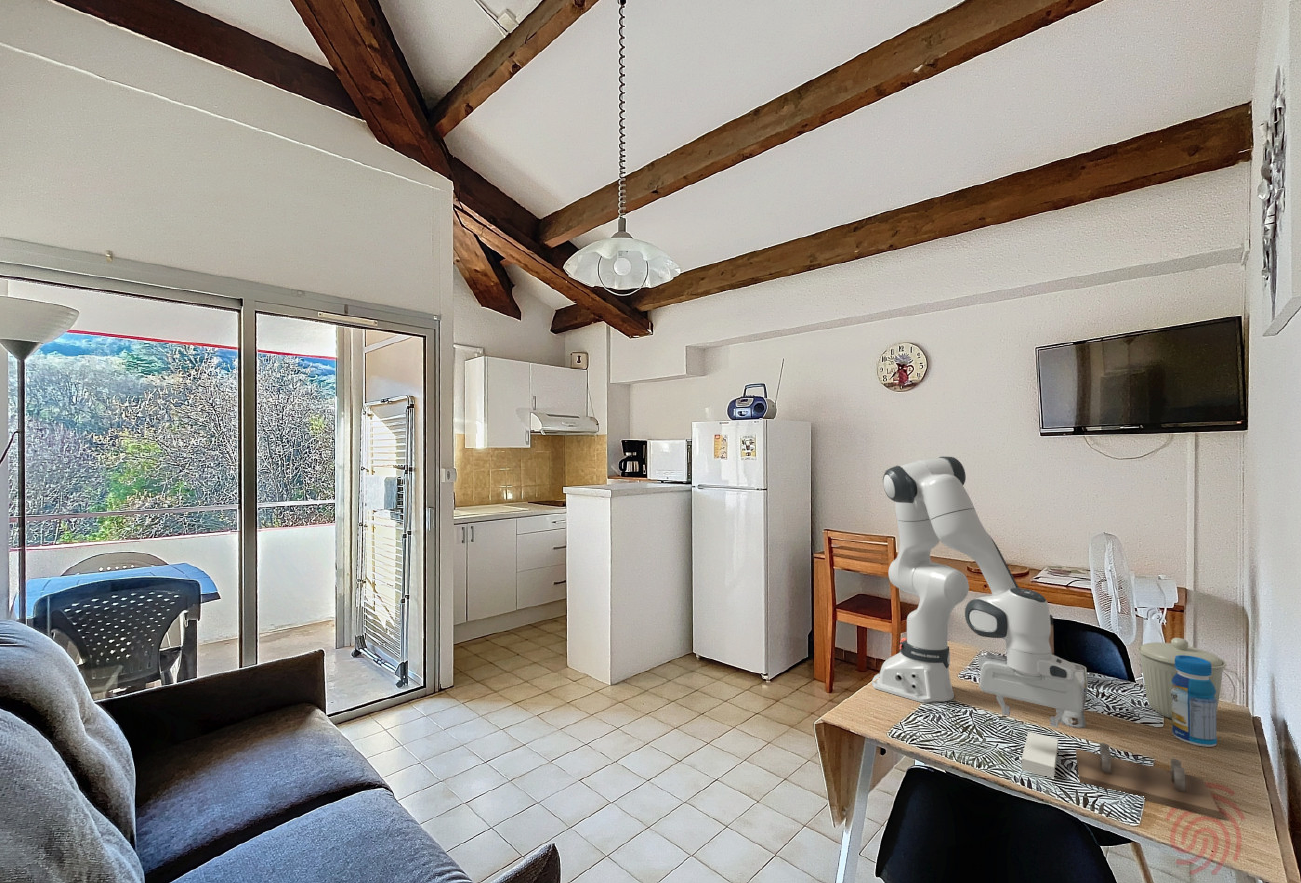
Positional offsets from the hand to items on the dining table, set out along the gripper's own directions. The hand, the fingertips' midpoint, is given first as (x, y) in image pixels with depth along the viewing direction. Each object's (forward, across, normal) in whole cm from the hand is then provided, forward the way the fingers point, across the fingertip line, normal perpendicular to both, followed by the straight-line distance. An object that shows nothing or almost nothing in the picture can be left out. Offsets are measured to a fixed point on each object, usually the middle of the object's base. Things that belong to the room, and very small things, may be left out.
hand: (1029, 720), depth 134 cm
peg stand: (+10, +20, +4) cm, 22 cm away
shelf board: (+10, +2, +2) cm, 10 cm away
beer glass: (+10, +6, +30) cm, 32 cm away
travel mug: (+10, -4, +62) cm, 63 cm away
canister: (+10, +29, +54) cm, 62 cm away
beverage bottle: (+10, +31, +38) cm, 50 cm away
